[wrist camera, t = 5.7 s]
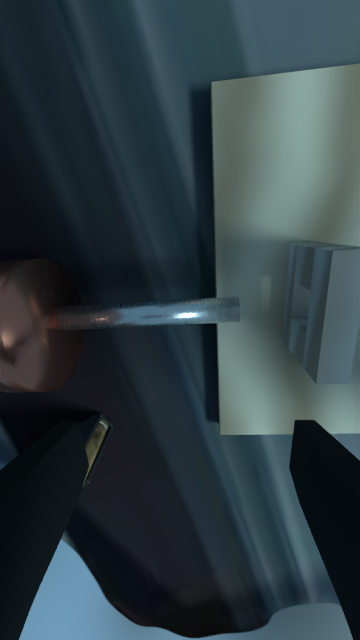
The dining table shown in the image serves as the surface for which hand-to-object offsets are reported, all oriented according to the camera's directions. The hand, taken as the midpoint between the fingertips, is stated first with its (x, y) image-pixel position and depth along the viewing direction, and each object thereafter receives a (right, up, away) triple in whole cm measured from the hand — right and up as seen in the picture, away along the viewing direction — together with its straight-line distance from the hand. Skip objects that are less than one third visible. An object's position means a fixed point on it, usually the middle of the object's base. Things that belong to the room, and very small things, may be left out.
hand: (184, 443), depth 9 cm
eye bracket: (+7, +6, +8) cm, 13 cm away
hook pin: (-3, +5, +8) cm, 10 cm away
